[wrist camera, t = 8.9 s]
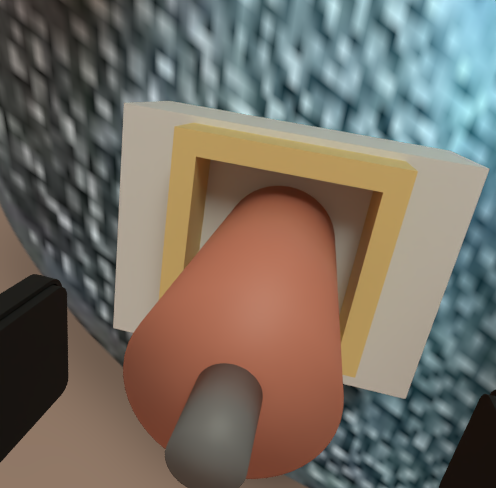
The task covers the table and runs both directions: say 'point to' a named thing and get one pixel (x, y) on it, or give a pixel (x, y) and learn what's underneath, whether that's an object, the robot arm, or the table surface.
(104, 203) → the table surface
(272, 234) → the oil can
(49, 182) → the table surface
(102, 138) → the table surface
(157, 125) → the white and yellow block
